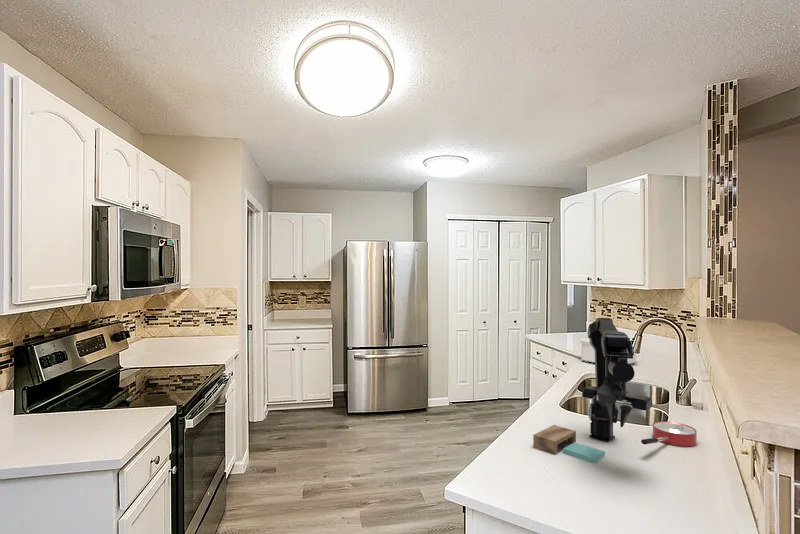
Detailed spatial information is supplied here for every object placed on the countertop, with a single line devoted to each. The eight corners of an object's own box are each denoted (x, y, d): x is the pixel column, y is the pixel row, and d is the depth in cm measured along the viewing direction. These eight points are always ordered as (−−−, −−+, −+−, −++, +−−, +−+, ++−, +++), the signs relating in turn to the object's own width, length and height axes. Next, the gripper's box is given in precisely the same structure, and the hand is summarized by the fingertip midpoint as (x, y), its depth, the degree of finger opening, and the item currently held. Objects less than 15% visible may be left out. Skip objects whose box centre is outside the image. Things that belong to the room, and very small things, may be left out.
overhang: (575, 443, 148) (575, 430, 148) (555, 454, 138) (555, 441, 138) (554, 436, 154) (554, 424, 154) (533, 447, 144) (533, 434, 144)
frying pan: (676, 469, 129) (676, 447, 129) (629, 455, 138) (629, 436, 138) (700, 440, 151) (700, 421, 151) (658, 430, 160) (658, 413, 160)
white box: (647, 365, 272) (646, 342, 272) (621, 371, 257) (621, 346, 257) (597, 356, 301) (597, 335, 301) (571, 361, 286) (571, 339, 286)
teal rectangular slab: (604, 457, 138) (604, 451, 138) (594, 465, 132) (594, 458, 132) (574, 448, 145) (574, 442, 145) (563, 454, 140) (563, 448, 140)
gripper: (573, 373, 133) (574, 423, 133) (639, 384, 119) (639, 441, 119) (589, 367, 141) (590, 415, 140) (652, 378, 127) (653, 431, 127)
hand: (616, 425), depth 131 cm, fingers open, 3 cm apart
